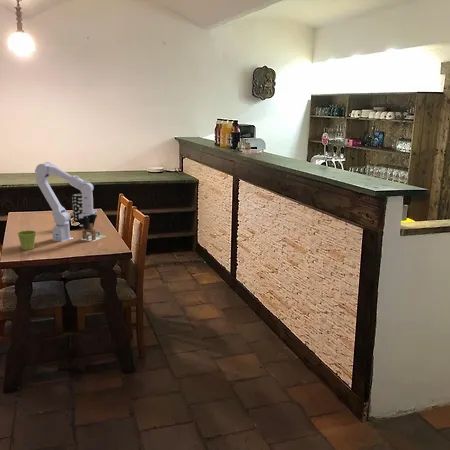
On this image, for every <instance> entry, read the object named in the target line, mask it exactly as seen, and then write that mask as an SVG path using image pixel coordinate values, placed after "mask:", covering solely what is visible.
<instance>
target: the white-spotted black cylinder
mask: <svg viewBox="0 0 450 450" xmlns="http://www.w3.org/2000/svg"><path fill="white" fill-rule="evenodd" d="M71 200H72V201H71V202H72V203H71V204H72V220H74V221H76V222H79V223H80V225H79V226H80V227H82V228H81V229H84V227H83V224H82V222H81V220H80V219H79V214H81V213H82V212H83V206H82V193H74V194H72V195H71Z"/></svg>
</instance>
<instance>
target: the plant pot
mask: <svg viewBox="0 0 450 450" xmlns="http://www.w3.org/2000/svg"><path fill="white" fill-rule="evenodd" d="M16 234H17V236H18V239H19V242H20V246H21V249H22V250H24V251H30V250H34V249H35V242H36V241H35V240H36V236H37V235H36V234H37V231H36V230H23V231H22V230H21V231H19V232H17V233H16Z"/></svg>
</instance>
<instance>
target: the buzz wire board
mask: <svg viewBox="0 0 450 450" xmlns="http://www.w3.org/2000/svg"><path fill="white" fill-rule="evenodd" d="M95 231H96V234H97V235H101V232H100V230H95ZM90 235H91V232H89V233H87V236H86V239H83V237H82V238H80V240H81V241H87V242H88V241H89V242H96V241H98V240H100V239H102V238H103V239H104V237H102V238H101V237H96V240H92V236H90Z"/></svg>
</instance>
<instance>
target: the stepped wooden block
mask: <svg viewBox="0 0 450 450" xmlns="http://www.w3.org/2000/svg"><path fill="white" fill-rule="evenodd" d="M81 229H82V232H81V233H82V235H81V237H82V238H83V239H86V236H87V235H88V233H91V235H92V240H96V235H97V233H96V231H97V230H96V229H94V227H93V223H88V230H85V229H84V228H81ZM96 241H97V240H96Z"/></svg>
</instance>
